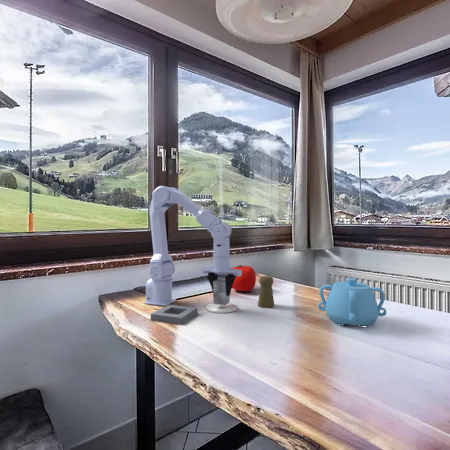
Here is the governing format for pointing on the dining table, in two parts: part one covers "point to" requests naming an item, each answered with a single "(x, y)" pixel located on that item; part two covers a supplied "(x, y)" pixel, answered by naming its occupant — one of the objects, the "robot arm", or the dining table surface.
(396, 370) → the dining table surface
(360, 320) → the decorative pot
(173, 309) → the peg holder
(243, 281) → the tomato
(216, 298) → the grey-blue peg
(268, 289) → the cork
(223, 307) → the ceramic coaster
